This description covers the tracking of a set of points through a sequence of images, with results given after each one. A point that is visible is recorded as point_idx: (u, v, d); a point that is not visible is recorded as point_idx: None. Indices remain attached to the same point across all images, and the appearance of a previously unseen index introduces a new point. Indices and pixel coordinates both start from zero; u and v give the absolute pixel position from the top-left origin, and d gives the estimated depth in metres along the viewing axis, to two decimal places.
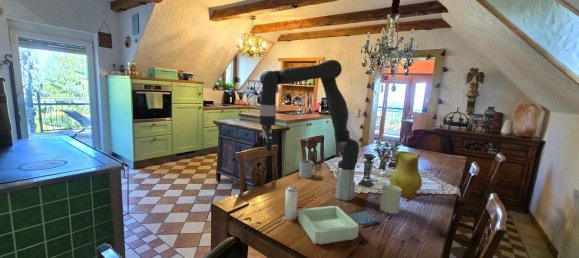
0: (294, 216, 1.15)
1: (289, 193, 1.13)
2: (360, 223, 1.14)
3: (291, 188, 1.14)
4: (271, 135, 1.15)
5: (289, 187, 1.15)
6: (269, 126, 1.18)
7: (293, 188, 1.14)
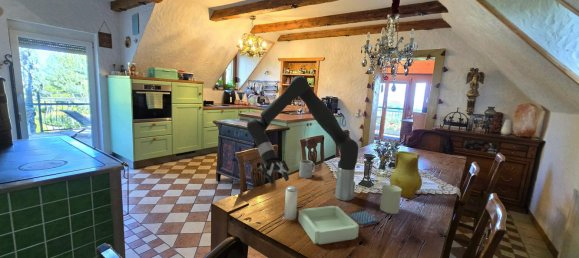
0: (294, 216, 1.15)
1: (289, 193, 1.13)
2: (360, 223, 1.14)
3: (291, 188, 1.14)
4: (262, 170, 1.20)
5: (289, 187, 1.15)
6: (265, 163, 1.24)
7: (293, 188, 1.14)
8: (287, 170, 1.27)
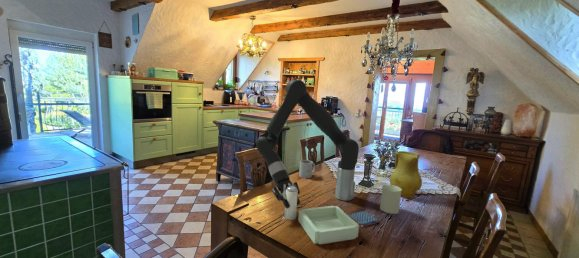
0: (294, 216, 1.15)
1: (289, 193, 1.13)
2: (360, 223, 1.14)
3: (291, 188, 1.14)
4: (276, 194, 1.14)
5: (289, 187, 1.15)
6: (276, 184, 1.18)
7: (293, 188, 1.14)
8: (298, 193, 1.19)
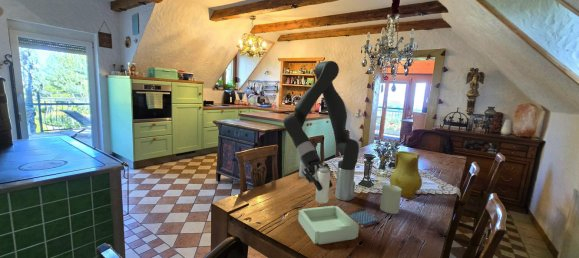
0: (326, 199, 1.07)
1: (322, 174, 1.04)
2: (360, 223, 1.14)
3: (323, 169, 1.06)
4: (307, 175, 1.05)
5: (321, 168, 1.07)
6: (306, 165, 1.09)
7: (325, 169, 1.06)
8: None
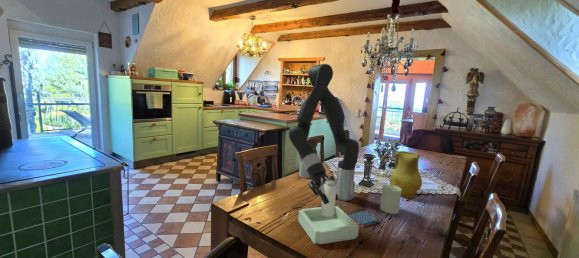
0: (332, 213, 1.06)
1: (328, 187, 1.04)
2: (361, 223, 1.14)
3: (330, 182, 1.05)
4: (313, 188, 1.04)
5: (327, 181, 1.06)
6: (312, 177, 1.08)
7: (332, 182, 1.05)
8: None
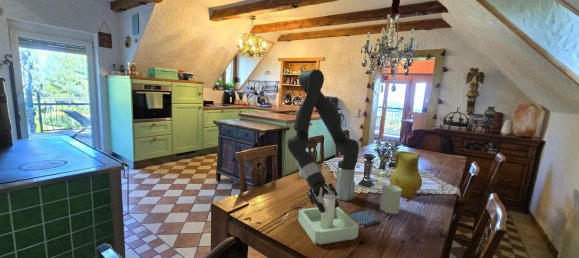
0: (331, 225, 1.07)
1: (327, 200, 1.05)
2: (361, 223, 1.14)
3: (328, 195, 1.06)
4: (311, 196, 1.05)
5: (326, 194, 1.07)
6: (312, 187, 1.09)
7: (331, 195, 1.06)
8: (336, 195, 1.12)
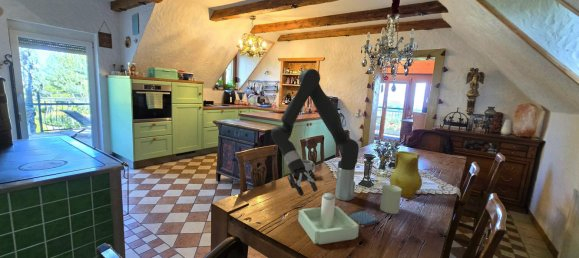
0: (331, 225, 1.07)
1: (327, 201, 1.04)
2: (361, 223, 1.13)
3: (328, 196, 1.06)
4: (291, 180, 1.14)
5: (326, 194, 1.07)
6: (292, 172, 1.18)
7: (330, 196, 1.06)
8: (315, 180, 1.21)
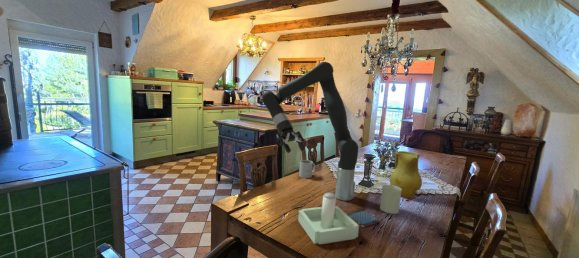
0: (332, 225, 1.07)
1: (328, 200, 1.05)
2: None
3: (329, 195, 1.06)
4: (279, 138, 1.21)
5: (327, 194, 1.07)
6: (281, 132, 1.25)
7: (331, 195, 1.06)
8: (302, 140, 1.28)
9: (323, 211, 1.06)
